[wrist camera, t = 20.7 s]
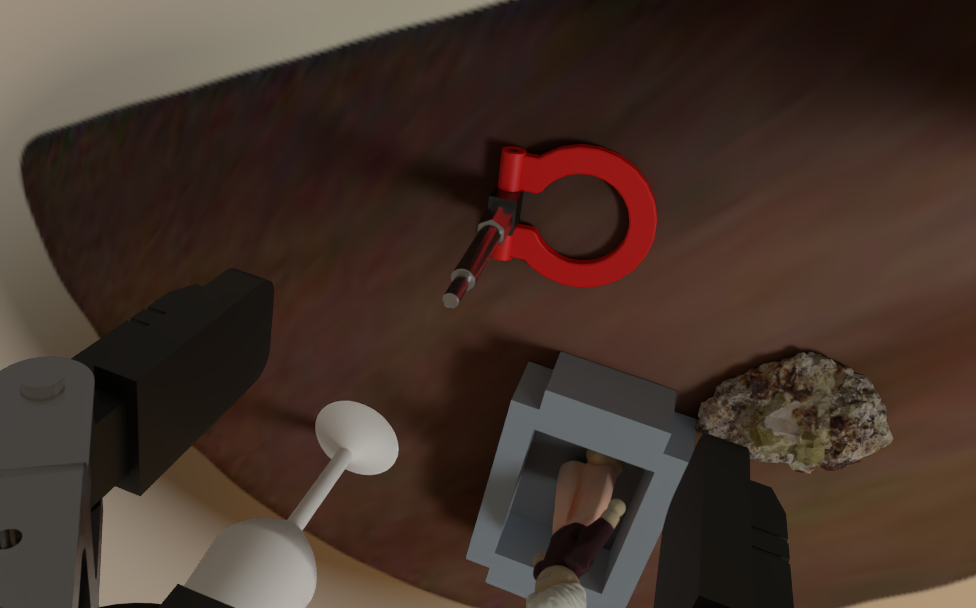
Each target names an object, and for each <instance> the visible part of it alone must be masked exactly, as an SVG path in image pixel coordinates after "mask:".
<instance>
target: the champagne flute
mask: <svg viewBox="0 0 976 608" xmlns="http://www.w3.org/2000/svg"><path fill="white" fill-rule="evenodd" d="M315 430H316V436H317V439H318V442H319V444H320V445H321V447H322V449H323V450H324V452H325V453H326V454H327V455H328V456H329V457H330V458H331V461H330V462H329V464H328V465H327V466H326V468H325V469H324V470H323V472H322V473H321V474H320V476H319V477H318V479H317V480H316V481H315V483H314V484H313V485H312V487H311V488H310V490H309V491H308V492H307V494H306V495H305V496H304V498H303V499H302V500H301V502H300V503H299V505H298V506H297V507H296V509H295V510H294V511H293V513H292V514H291V516H290V517H289V518H288V520H283V519H274V518H255V519H249V520H244V521H241V522H239V523H236V524H233V525H231V526H229V527H227V528H226V529H225V530H223V531H222V532H221V533H220V534H218V536H217V537H216V539H215V540H214V542H213V543H212V545H211V546H210V548H209V549H208V551H207V552H206V554H205V555H204V557H203V558H202V560H201V561H200V563H199V564H198V566H197V567H196V569H195V570H194V572H193V573H192V575H191V576H190V578H189V579H188V581H187V582H186V584H185V585H184V587H187V588H189V589H191V590H194V591H196V592H199V593H201V594H203V595H206V596H208V597H211V598H213V599H215V600H218V601H220V602H223V603H225V604H228V605H230V606H232V607H235V608H306V606H307V605H308V604H309V602H310V601H311V599H312V597H313V595H314V592H315V589H316V581H317V570H316V564H315V558H314V554H313V551H312V549H311V547H310V545H309V543H308V541H307V539H306V537H305V535H304V533H303V531H302V530H303V529H304V527H305V526H306V524H307V523H308V522H309V520H310V519H311V517H312V516H313V514H314V513H315V511H316V510H317V509H318V507H319V506H320V504H321V503H322V501H323V500H324V499H325V497H326V496H327V494H328V493H329V491H330V490H331V488H332V487H333V486H334V484H335V483H336V481H337V480H338V478H339V477H340V475H341V474H342V473H343V471H344V470H345V469H346V470H348V471H351V472H354V473H357V474H363V475H375V474H380V473H382V472H385V471H386V470H388V469H389V468H391V467H392V465H393V464H394V463H395V461H396V459H397V457H398V451H399V448H398V441H397V437H396V434H395V432H394V431H393V429H392V427H391V426H390V424H389V423H388V422H387V420H386V419H385V418H384V417H383V416H382V415H380V414H379V413H378V412H376V411H375V410H374V409H372V408H370V407H368V406H366V405H364V404H361V403H358V402H353V401H337V402H333V403H331V404H329V405H327V406H325V407H324V408H323V409H322V410H321V411H320V413H319V414H318V416H317V419H316V424H315Z"/></svg>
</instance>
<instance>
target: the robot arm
mask: <svg viewBox="0 0 976 608" xmlns="http://www.w3.org/2000/svg"><path fill="white" fill-rule="evenodd" d="M273 301H274V287H273V284H272V282H271V281H269V280H266V279H263V278H261V277H258V276H255V275H252V274H249V273H246V272H243V271H240V270H237V269H235V268H230V269H228V270H226V271H225V272H223V273H222V274H220V275H219V276H218V277H216V278H215V279H213V280H212V281H211V282H209V283H208V284H206V285H205V286H201V285H199V284H194V285H191V286H188V287H185V288H181V289H178V290H175V291H172V292H168V293H167V294H166V295H164V296H163V297H161V298H160V299H158V300H157V301H155V302H154V303H152V304H151V305H149V306H148V309H147V310H145V309H143V310H142V311H141V312H139V313H138V314H136V315H135V316H133V317H132V318H131V321H126V322H124V323H123V324H121V325H120V326H118V327H117V328H116V329H114V330H113V331H111V332H110V333H108V334H107V335H105V336H104V337H102V338H101V339H99V340H98V341H96V342H95V343H94V344H92V345H91V346H89V347H88V348H86V349H85V350H83V351H82V352H80V353H79V354H77V355H76V356H74V357H73V358H71V359H68V358H62V357H37V358H32V359H27V360H23V361H20V362H17V363H15V364H12V365H10V366H8V367H6V368H4V369H3V370H1V371H0V608H235V607H232V606H230V605H228V604H225V603H223V602H220V601H218V600H215V599H213V598H211V597H208V596H206V595H203V594H201V593H199V592H196V591H194V590H191V589H189V588H187V587H184V586H182V585H179V584H177V586H176V587H175V588H174V589H173V590H172V592H171V593H170V594H169V595H168V597H167V598H166V599H165V600H164V601H163V603H162V604H154V603H128V604H115V605H109V606H104V607H99V584H100V563H101V543H102V522H103V500H102V498H103V497H104V496H105V495H106V494H107V493H108V492H109V491H110V490H111V489H112V488H113V487H114V486H116V487H119V488H122V489H124V490H126V491H129V492H131V493H134V494H136V495H139V496H141V495H142V494H143V493H144V492H145V491H146V490H147V489H148V488H149V487H150V486H151V485H152V484H153V483H154V482H155V481H156V480H157V479H158V478H159V477H160V476H161V475H162V474H163V473H164V472H165V471H166V470H167V469H168V468H169V467H170V466H171V465H172V464H173V463H174V462H175V461H176V460H177V459H178V458H179V457H180V456H181V455H182V454H183V453H184V452H185V451H187V450H188V449H189V447H191V446H192V445H193V444H194V443H195V442H196V441H197V440H198V439H199V438H200V437H201V436H202V435H203V434H204V433H205V432H206V431H207V430H208V429H209V428H210V427H211V426H212V425H213V424H214V423H215V422H216V421H217V420H218V419H219V418H220V417H221V416H222V415H223V414H224V413H225V412H226V411H227V410H228V409H229V408H230V407H231V406H232V405H233V404H234V403H235V402H236V401H237V400H238V399H239V398H240V397H241V396H242V395H243V394H244V393H245V392H246V391H247V390H248V389H249V388H250V387H251V386H252V385H253V384H254V383H255V382H256V381H257V380H258V378H259V377H260V375H261V374H262V372H263V370H264V368H265V365H266V363H267V360H268V356H269V351H270V340H271V327H272V314H273ZM787 540H788V533H787V521H786V513H785V511H784V509H783V508H782V506H781V504H780V502H779V500H778V499H777V497H776V495H775V493H774V491H773V490H772V488H771V487H768V486H766V485H763V484H760V483H757V482H754V481H751V480H750V454H749V449H748V447H745V446H742V445H739V444H736V443H734V442H731V441H728V440H725V439H722V438H719V437H716V436H713V435H710V434H708V433H704V434H703V435H702V436H701V438H700V439H699V441H698V443H697V445H696V448H695V450H694V452H693V454H692V456H691V458H690V461H689V463H688V465H687V467H686V469H685V471H684V474H683V476H682V478H681V480H680V482H679V484H678V487H677V489H676V491H675V493H674V495H673V498H672V500H671V502H670V505H669V508H668V511H667V514H666V518H665V522H664V526H663V531H662V539H661V548H660V556H659V565H658V573H657V582H656V591H655V599H654V608H794V604H793V592H792V581H791V569H790V564H788V563H789V559H790V557H789V545H788V543H787Z"/></svg>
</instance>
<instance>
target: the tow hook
mask: <svg viewBox="0 0 976 608" xmlns="http://www.w3.org/2000/svg"><path fill="white" fill-rule="evenodd" d="M573 174H586V175H593V176H595V177H598V178H600V179H603V180H605V181H606V182H608V183H609V184H610V185H612V186H613V187H614V188H616V190H617V191H618V192H619V194H620V195H621V196H622V197H623V199H624V201H625V204H626V206H627V208H628V214H629V227H628V231H627V233H626V235H625V237H624V239H623V241H622V242H621V243H620V244H619V245H618V246H617V248H616V249H614V250H613V251H611V252H610V253H608V254H607V255H605V256H602V257H599V258H596V259H591V260H577V259H571V258H568V257H566V256H563V255H561V254H558V253H557V252H556V251H554V250H553V249H552V248H550V247H549V246H548V245H547V244H546V242H545V241H544V240H543V239H542V238H541V235H540V233H539V231H538V229H536V228H535V227H534V226H529V225H524V224H519V221H520V213H521V206H522V199H523V191H527V192H532V193H539V192H542V191H543V189H544V188H545V187H546V186H548V185H549V184H550V183H552V182H553V181H554V180H556V179H558V178H561V177H564V176H566V175H573ZM656 225H657V210H656V200H655V197H654V195H653V192H652V190H651V187H650V185H649V183H648V181H647V180H646V178H645V177H644V176H643V174H642V173H641V172H640V171H639V169H638V168H637V167H636V166H635V165H634V164H633V163H631V162H630V161H629V160H627V159H626V158H625V157H623V156H622V155H621V154H619V153H616V152H614V151H611V150H609V149H606V148H604V147H601V146H594V145H587V144H575V145H567V146H561V147H558V148H556V149H553V150H551V151H548V152H546V153H544V154H542V155H536V154H530V153H527V151H526V150H525V149H523V148H520V147H515V146H506V147H503V148H502V154H501V162H500V170H499V179H498V185H497V186H496V188H495V189H494V191H493V192H492V194H491V195H490V197H489V200H488V209H487V212H486V213H485V214H484V216H483V217H482V219H481V220H480V222H479V224H478V229H477V235H476V237H475V238H474V240H473V241H472V243H471V245H470V246H469V248H468V249H467V251H466V252H465V254H464V256H463V257H462V259H461V260H460V262H459V263H458V265H457V267H456V268H455V270H454V271H453V273H452V275H451V284H450V286H449V288H448V289H447V291H446V293H445V294H444V296H443V298H442V302H443V304H444V305H445V306H446V307H448V308H456V307H457V306H458V304H459V303H460V301H461V299H462V297H463V296H464V294H465V292H466V291H469V290H471V289H472V288H473V287H474V285H475V284H476V282H477V280H478V278H479V276H480V275H481V273H482V271H483V269H484V268H485V266H486V264H487V262H488V260H489V259H490V257H492V258H493V259H496V260H500V261H507V260H510V259H512V257H513V258H518V259H523V260H525V261H526V262H527V263H528V265H529V266H530V267H531V268H533V269H534V270H536V271H537V272H538V273H540V274H541V275H543V276H544V277H545V278H548V279H550V280H553V281H555V282H557V283H560V284H562V285H568V286H574V287H580V288H582V287H596V286H602V285H605V284H608V283H611V282H614V281H617V280H619V279H620V278H622V277H624V276H625V275H627V274H628V273H630V272H631V271H633V270H634V269H635V268H636V267H637V266H638V264H639V263H640V262H641V261H642V260H643V259H644V258H645V257H646V255H647V253H648V251H649V249H650V247H651V245H652V243H653V241H654V236H655V230H656Z"/></svg>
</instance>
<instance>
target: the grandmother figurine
mask: <svg viewBox="0 0 976 608" xmlns="http://www.w3.org/2000/svg"><path fill="white" fill-rule="evenodd" d="M586 457H587V460H588V463H586V464H584V463H582V462H579V461H570V462H566V463H564V464H563V465H562V466H561V468H560V470H559V475H558V479H557V488H556V496H555V510H554V516H553V528H552V531H553V535H552V537H551V539H550V544H549V546H548V549H547V552H546V554H545V553H542V552H539V553H536V554H535V555H534V557H533V564H534V570H533V577H534V579H535V580H536V583H535V592H534V593H531V594H530V595H529V596H528V597H527V599H526V608H586V606H587V603H586V592H585V590H584V588H583V587H582V586H581V584H580V581H579V578H580V577H581V576H582V575H584V574H585V573H586V572H588V571H589V570H590V569H591V567H592V565H593V563H594V559H595V556H596V555H597V554H598V553H599V551H600V550H601V549H602V548H603V546H604V544H605V543H606V542H607V540H608V539H609V538H610V537H611V535H612V534H613V532H614V529H615V527H616V525H617V524H618V522H619V517H620V516H622V515H623V514H624V512H625V510H626V506H625V503H624V502H623V501H622V500H620V499H612V500H611V496H612V492H613V490H614V486H615V482H616V479H617V477H618V476H619V475H620V474H621V473H622V471H623V466H622V464H621V462H620V460H618V459H616V458H613V457H610V456H607V455H604V454H602V453H599V452H596V451H593V450H590V449H588V450H587V452H586ZM610 500H611V501H610ZM607 507H608V508H607Z"/></svg>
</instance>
